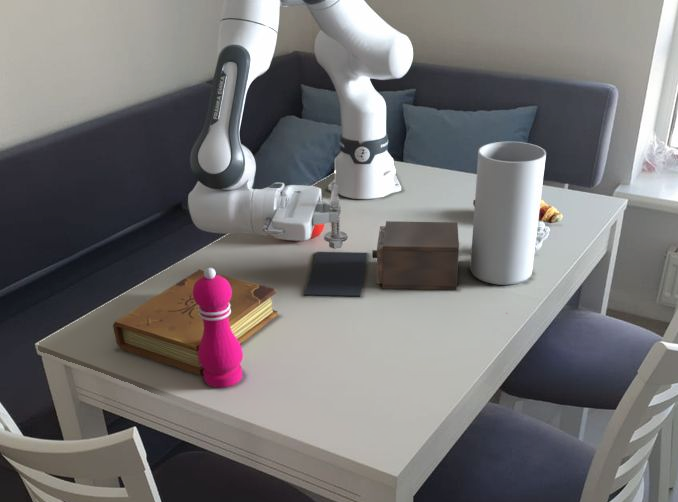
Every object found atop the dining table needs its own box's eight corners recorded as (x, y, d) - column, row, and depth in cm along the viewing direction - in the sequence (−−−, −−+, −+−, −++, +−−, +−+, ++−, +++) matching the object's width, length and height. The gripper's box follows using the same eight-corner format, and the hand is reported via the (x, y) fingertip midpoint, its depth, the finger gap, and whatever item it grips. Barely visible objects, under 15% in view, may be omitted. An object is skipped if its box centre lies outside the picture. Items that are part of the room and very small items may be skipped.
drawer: (370, 283, 159) (370, 249, 155) (374, 258, 168) (374, 226, 164) (445, 284, 158) (446, 250, 154) (444, 260, 167) (446, 227, 163)
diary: (199, 295, 158) (196, 268, 155) (277, 316, 150) (275, 288, 147) (117, 348, 142) (111, 319, 138) (200, 375, 134) (195, 345, 130)
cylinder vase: (458, 266, 166) (466, 147, 152) (510, 255, 170) (521, 138, 156) (490, 291, 157) (501, 166, 143) (544, 279, 161) (559, 156, 147)
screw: (320, 243, 162) (343, 239, 164) (327, 252, 159) (350, 249, 160) (318, 181, 155) (342, 178, 157) (325, 189, 151) (349, 186, 153)
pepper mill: (210, 394, 129) (193, 282, 118) (195, 373, 134) (179, 264, 123) (251, 382, 131) (239, 271, 120) (236, 361, 137) (223, 254, 126)
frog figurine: (545, 259, 168) (549, 228, 164) (511, 256, 170) (514, 225, 166) (548, 248, 173) (552, 218, 169) (516, 244, 175) (519, 214, 171)
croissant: (561, 233, 188) (568, 199, 187) (557, 228, 178) (565, 192, 177) (474, 220, 194) (480, 187, 193) (465, 215, 185) (472, 180, 184)
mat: (316, 253, 173) (316, 251, 173) (367, 253, 172) (367, 252, 172) (304, 295, 157) (304, 294, 157) (360, 296, 156) (360, 295, 156)
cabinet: (382, 288, 159) (382, 246, 154) (385, 261, 169) (386, 221, 164) (456, 290, 157) (459, 247, 152) (455, 262, 168) (457, 222, 163)
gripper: (259, 216, 148) (333, 218, 147) (277, 179, 165) (343, 180, 164) (261, 248, 152) (334, 249, 150) (279, 208, 168) (344, 209, 167)
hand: (339, 213), depth 157 cm, fingers closed on screw, 2 cm apart
